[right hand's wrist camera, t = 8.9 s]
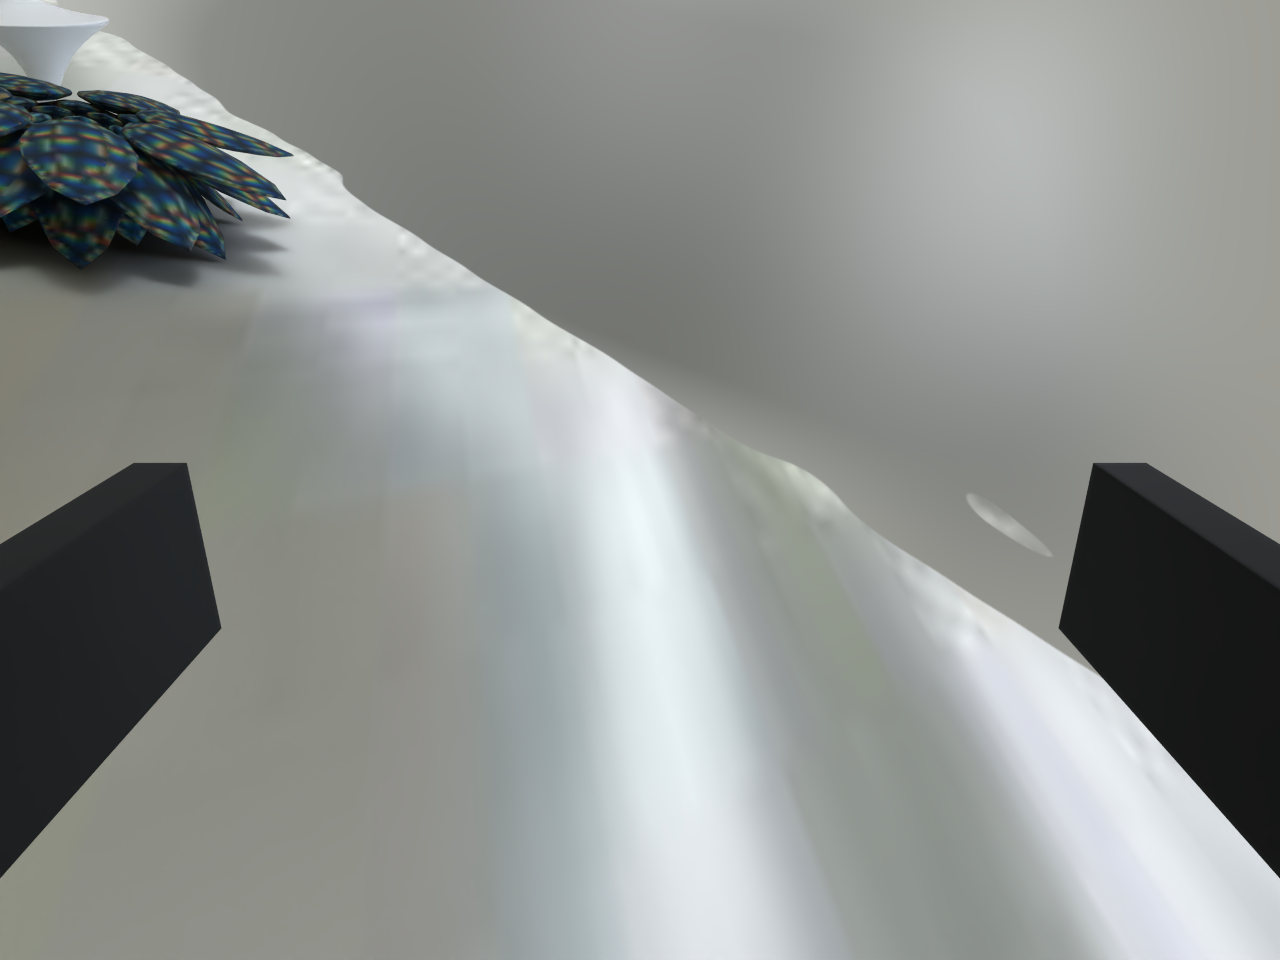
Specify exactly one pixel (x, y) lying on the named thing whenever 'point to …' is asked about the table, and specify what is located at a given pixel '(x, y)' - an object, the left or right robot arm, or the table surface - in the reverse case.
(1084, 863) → the table surface
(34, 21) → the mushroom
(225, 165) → the decorative ornament
